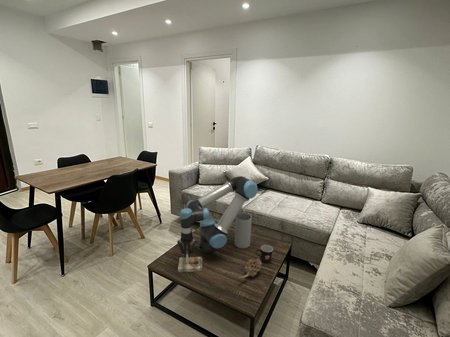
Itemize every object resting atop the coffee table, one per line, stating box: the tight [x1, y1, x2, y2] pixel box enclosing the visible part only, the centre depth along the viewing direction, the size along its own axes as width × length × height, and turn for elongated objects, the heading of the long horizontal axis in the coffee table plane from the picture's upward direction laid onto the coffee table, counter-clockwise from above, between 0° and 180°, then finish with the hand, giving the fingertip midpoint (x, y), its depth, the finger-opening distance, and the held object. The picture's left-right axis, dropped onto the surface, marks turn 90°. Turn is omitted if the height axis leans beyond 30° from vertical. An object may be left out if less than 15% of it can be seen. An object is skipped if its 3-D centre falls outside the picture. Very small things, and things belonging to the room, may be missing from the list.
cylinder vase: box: [234, 212, 253, 249], centre depth 191 cm, size 12×12×25 cm
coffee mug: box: [255, 244, 274, 264], centre depth 175 cm, size 12×9×10 cm
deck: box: [177, 256, 203, 273], centre depth 168 cm, size 16×12×2 cm
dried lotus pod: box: [238, 258, 262, 280], centre depth 158 cm, size 22×10×10 cm, turn 144°
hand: (187, 261), depth 167 cm, fingers closed
